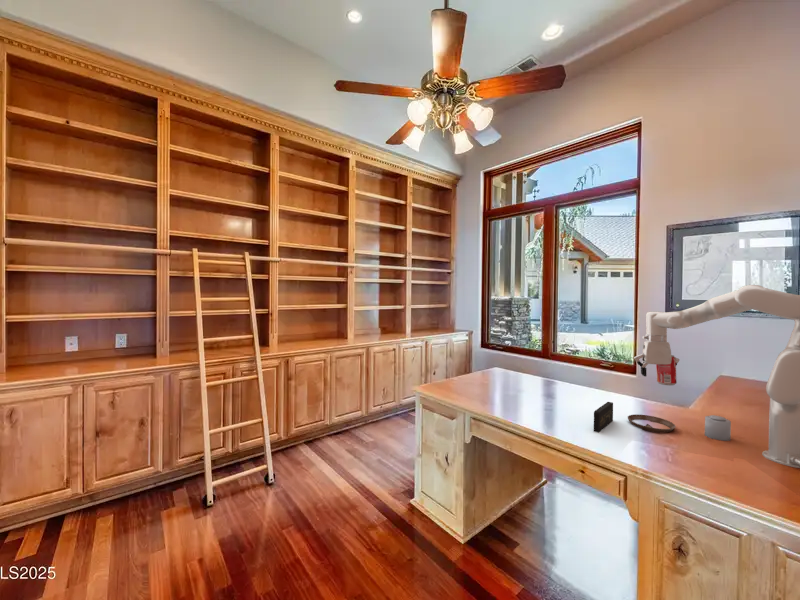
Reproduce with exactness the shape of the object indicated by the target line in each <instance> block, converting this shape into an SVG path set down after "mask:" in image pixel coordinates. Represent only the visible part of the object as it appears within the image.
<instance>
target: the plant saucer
mask: <svg viewBox="0 0 800 600" xmlns="http://www.w3.org/2000/svg"><path fill="white" fill-rule="evenodd" d="M627 420H628V421H629V423H630V424H631V425H633V426H635V427H637V428H640V429H642V430H644V431H647V432H650V433H656V434H661V433H670V432H672V431H674V429H676V424H674V423H673V422H671V421H670V420H667V419H664V418H662V417H657V416H653V415H647V414H629V415H627ZM637 420H639V421H641V420H642V421H649V422H651V423H657V424H660V425H663V426H665V427H667V428H658V427H653V426H652V425H650V424H649V423H646V424H645V425H643V424H640V423H637V422H634V421H637Z"/></svg>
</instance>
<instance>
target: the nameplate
mask: <svg viewBox="0 0 800 600" xmlns="http://www.w3.org/2000/svg"><path fill="white" fill-rule="evenodd" d="M613 421H614V403H613V402H611V401H607V402H605V403H604V404H602V405H601V406H600V407H598V408H597V409H595V410H594V412H593V432H595V433H600V432H601V431H602V430H603V429H605V428H606V427H608V425H610V424H611V423H613Z"/></svg>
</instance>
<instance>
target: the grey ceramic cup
mask: <svg viewBox="0 0 800 600" xmlns="http://www.w3.org/2000/svg"><path fill="white" fill-rule="evenodd" d="M731 426H732V421H731V420H730V419H728V418H726V417H724V416H720V415H712V414H711V415H705V416H704V436H705V437H706V436H707V438H709V439H712V440H716V441H717V440H718V441H724V442H728V441H729V442H730V441H731V434H732V433H731V431H732V427H731Z"/></svg>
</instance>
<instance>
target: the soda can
mask: <svg viewBox="0 0 800 600" xmlns="http://www.w3.org/2000/svg"><path fill="white" fill-rule="evenodd" d="M671 355H672V360H671V364H668V365H659V364H655V365H656V368H655V370H656V371H655V372H656V382H657V383H658V384H659V385H663V386H675V385H676V384H677V365H676V359H675V358H674V357H675V355H673V354H671Z"/></svg>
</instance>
